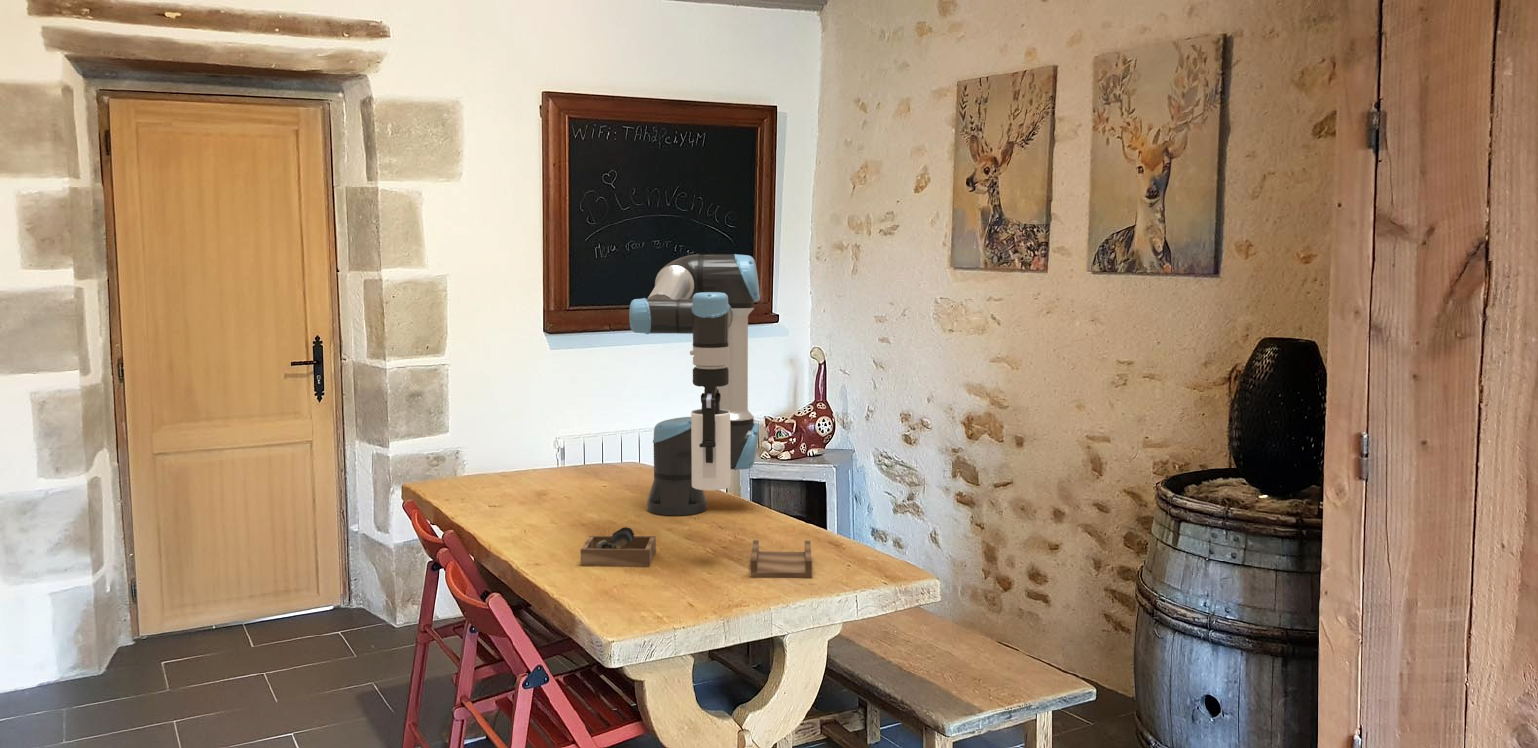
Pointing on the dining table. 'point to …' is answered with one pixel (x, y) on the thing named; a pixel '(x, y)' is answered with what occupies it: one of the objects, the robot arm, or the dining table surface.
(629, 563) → the figurine frame
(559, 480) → the dining table surface
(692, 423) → the cup
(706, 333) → the robot arm
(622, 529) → the eagle figurine
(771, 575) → the brown wooden tray
